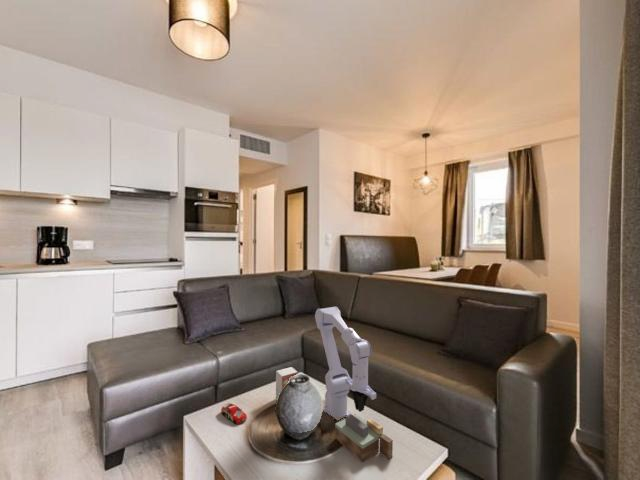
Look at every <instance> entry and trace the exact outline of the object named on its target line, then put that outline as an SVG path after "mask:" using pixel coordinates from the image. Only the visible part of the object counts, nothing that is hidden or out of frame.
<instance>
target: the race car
mask: <svg viewBox="0 0 640 480" xmlns="http://www.w3.org/2000/svg"><path fill="white" fill-rule="evenodd" d="M220 411H221V415H222V416H223V417H225V418H226V419H228V420H230V422H232V423H233V424H235V425H240V424H243V423H244V422H246V420H247V417H248V415H247V413H246V412H244V411H243V410H242V407H241V408H240V407H239V406H237V405H236V404H233V403H230V402H228V403H226V404H224V405H223V406H222V407H221V410H220Z"/></svg>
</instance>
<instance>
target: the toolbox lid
mask: <svg viewBox="0 0 640 480" xmlns="http://www.w3.org/2000/svg"><path fill="white" fill-rule="evenodd" d="M334 425H335V427H336V428H337V429H339V430H340V431H341V432H342V433H344V434H345V435H346V436H347V437H348V438H350V439H351V440H352V441H353V442H355V443H356V444H357V445H358V446H360V447H361V448H362V449H363V448H365V447H366V446H368V445H370V444H371V443H373V442H375V441H376V440H378V439H379V440H380V436H381V435H382V434H384V433H381V434H378V433H376V432H375V431H373V430H372V429H371V428H369V427H368V426H367V420H365V419H363V418H361V417H360V416H358V415H357V413H354V414H349V415H347V416H346V418H343V419H341V420H339V421H337V422H336V423H334ZM335 427H334V428H335Z"/></svg>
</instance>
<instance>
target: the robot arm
mask: <svg viewBox="0 0 640 480" xmlns="http://www.w3.org/2000/svg"><path fill="white" fill-rule="evenodd" d="M341 315H342V314H341V310H340V309H339V307H338V306H331V307H325V308H317V309H316V311H315V314H314V319H315V323H316V327H317V329H318V330H319V331H320V335H321V339H322V343H323V347H324V351H325V356H326V360H327V364H328V368H329V369H328V372H327V373H326V374H325V376H324V379H325V390H326V391H325V394H324V408H323V409H324V411H323V412H324V413H326V412H327V413H328V414H330V415H331V416H334V417H343V416H345V415H349V414H352V412H350V410H348V394H349V393H350V395H351V397H352V399H353V403H354V407H355V410H356V411H358V412H363V411H364V409H365V407H366V402H367V400H368V398H370V399H371V400H372V401H373V400H375V399H377V392H375V391H374V389H372V388H371V387H370V385H369V357H370V356H371V355H372V351H373V350H372V346H371V343H370V342H369V341H368V340H367V339H364V338H363V339H362V338H361V337H360V336H359V335H358V333H357V332H356V331H355V330H354V328H352V327H348V326H347V324H346V322H345V321H344V320H343V317H342V316H341ZM333 328H336V330H338V331H339V333H340V334H341V339H342V341H343V342H344V343H345V344H346V346H347V348H348V349H349V354H350V357H351V358H350V359H351V363H352V378H351V376H350V374H349V372H348V370H347V369H346V368H343V367H342V365H341V361H340V357H339V353H338V348H337V345H336V344H337V343H336V341H335V337H334V334H333ZM327 413H326V414H327ZM328 414H327V415H328ZM330 415H329V416H330ZM352 415H353V414H352ZM331 416H330V417H331ZM338 420H339V419H338ZM339 421H340V420H339Z"/></svg>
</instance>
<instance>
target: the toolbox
mask: <svg viewBox="0 0 640 480" xmlns="http://www.w3.org/2000/svg"><path fill="white" fill-rule="evenodd" d="M334 428H335V429H334V437H335V438H336V439H338V440H339V441H341V442H342V443H343V445H344V446H343V445H342V446H343V447H344V448H346V449H347V450H348V451H349V452H350V453H351V454H352V455H353V456H355V457H356V458H357V459H358V460H359V461H360V462H362V463H363V462H365V461H367V460H368V459H369V458H371V457H372V456H374V455H376V454H378V453H380V454H381V455H382V456H384V457H385V458H386V459H387V460H390V459H391V458H393V443H394V441H393V439H392V438H390V437H389V436H388V435H386V434H384V433H383V434H382V435H381V436H380V439H378V440H376V441H375V442H373V443H371V444H370V445H368V446H366V447H365V448H363V449H362V448H361V447H360V446H358V445H357V444H356V443H355V442H353V441H352V440H351V439H350V438H348V437H347V436H346V435H345V434H344V433H342V432H341V431H340V430H339V429H337V428H336V427H334ZM335 438H334V439H335ZM336 439H335V440H336Z"/></svg>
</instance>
